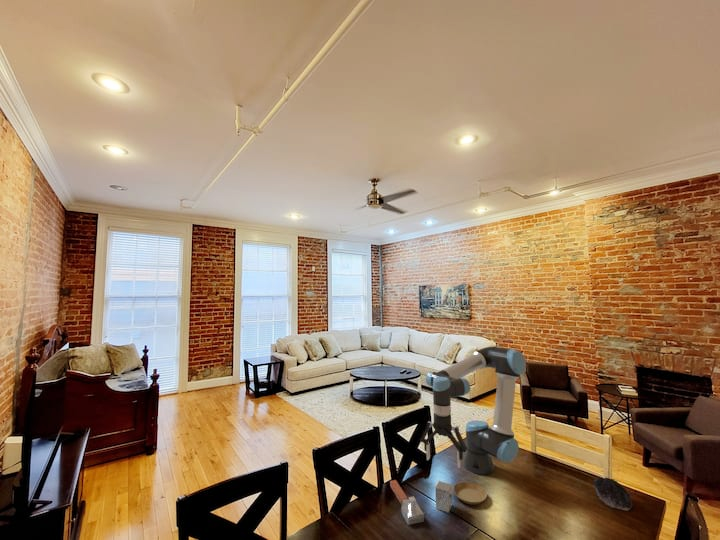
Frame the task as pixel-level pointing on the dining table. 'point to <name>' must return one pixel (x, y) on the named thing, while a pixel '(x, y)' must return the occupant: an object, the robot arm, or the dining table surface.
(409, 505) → the mallet
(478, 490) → the plant saucer
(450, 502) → the white upright block
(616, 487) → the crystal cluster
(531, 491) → the dining table surface
